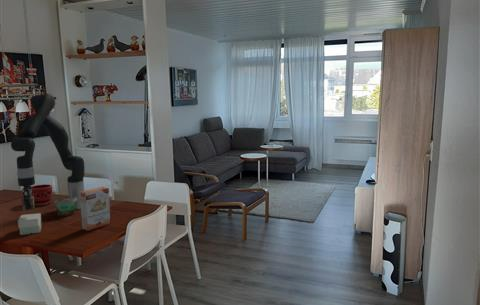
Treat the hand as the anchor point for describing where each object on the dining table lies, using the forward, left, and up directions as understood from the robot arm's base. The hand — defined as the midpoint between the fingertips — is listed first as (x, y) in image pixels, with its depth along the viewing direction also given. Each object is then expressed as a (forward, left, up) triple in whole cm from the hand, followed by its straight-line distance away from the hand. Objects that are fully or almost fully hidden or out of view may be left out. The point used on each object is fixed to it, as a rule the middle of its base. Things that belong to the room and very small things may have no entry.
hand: (28, 207), depth 189 cm
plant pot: (-2, -51, -13) cm, 53 cm away
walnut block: (0, 0, -1) cm, 1 cm away
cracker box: (-32, +8, -13) cm, 36 cm away
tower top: (0, 0, -9) cm, 9 cm away
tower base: (0, 0, -13) cm, 13 cm away
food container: (-17, -19, -13) cm, 29 cm away
